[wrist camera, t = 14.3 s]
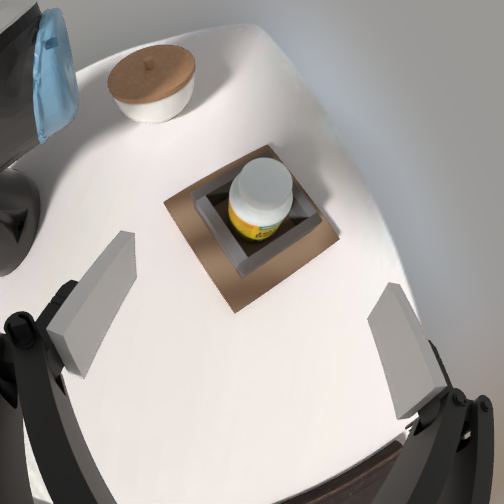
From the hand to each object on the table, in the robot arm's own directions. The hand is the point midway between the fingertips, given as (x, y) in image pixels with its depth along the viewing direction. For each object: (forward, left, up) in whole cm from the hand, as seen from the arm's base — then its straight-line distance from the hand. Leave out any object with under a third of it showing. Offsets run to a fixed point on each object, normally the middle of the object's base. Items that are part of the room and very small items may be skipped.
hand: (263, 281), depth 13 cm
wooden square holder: (-6, +6, -16) cm, 18 cm away
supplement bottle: (-6, +5, -15) cm, 17 cm away
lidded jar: (-27, +5, -16) cm, 32 cm away
